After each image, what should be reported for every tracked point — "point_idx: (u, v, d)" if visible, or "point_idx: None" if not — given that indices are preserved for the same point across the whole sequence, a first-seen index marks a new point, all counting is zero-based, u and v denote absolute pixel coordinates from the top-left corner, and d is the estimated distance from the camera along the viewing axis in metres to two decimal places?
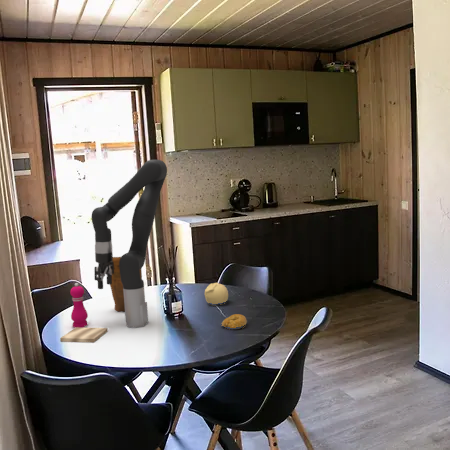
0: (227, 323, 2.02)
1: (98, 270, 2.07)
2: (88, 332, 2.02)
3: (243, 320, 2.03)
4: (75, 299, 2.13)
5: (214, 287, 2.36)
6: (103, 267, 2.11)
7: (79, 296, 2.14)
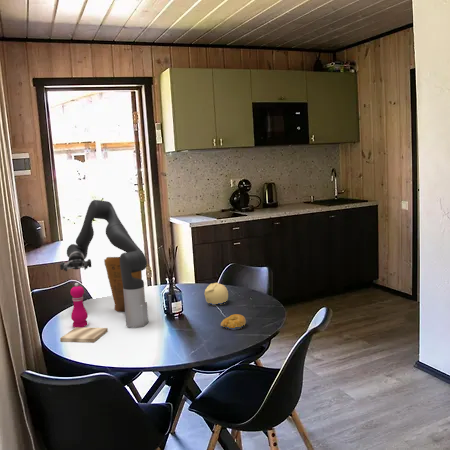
0: (226, 323, 2.02)
1: (61, 263, 2.29)
2: (88, 332, 2.02)
3: (242, 321, 2.03)
4: (75, 299, 2.13)
5: (214, 287, 2.36)
6: None
7: (79, 296, 2.14)
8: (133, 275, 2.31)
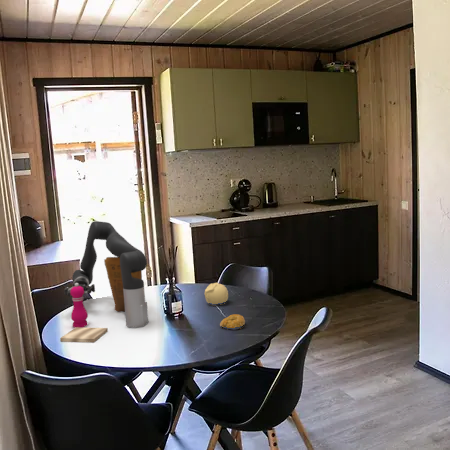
0: (225, 323, 2.02)
1: (65, 288, 2.33)
2: (88, 332, 2.02)
3: (241, 321, 2.03)
4: (75, 299, 2.13)
5: (214, 287, 2.36)
6: None
7: (79, 296, 2.14)
8: (133, 275, 2.31)
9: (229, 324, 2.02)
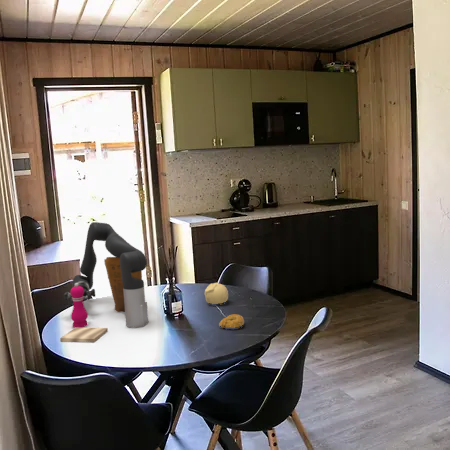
0: (225, 323, 2.02)
1: (65, 293, 2.30)
2: (88, 332, 2.02)
3: (240, 321, 2.03)
4: (75, 299, 2.13)
5: (214, 287, 2.36)
6: None
7: (79, 296, 2.14)
8: (133, 275, 2.31)
9: (228, 324, 2.02)
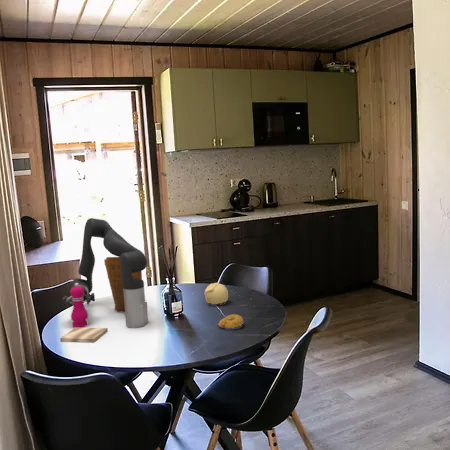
0: (224, 323, 2.02)
1: None
2: (88, 332, 2.02)
3: (240, 321, 2.03)
4: (75, 299, 2.13)
5: (214, 287, 2.36)
6: None
7: (79, 296, 2.14)
8: (133, 275, 2.31)
9: (227, 324, 2.02)
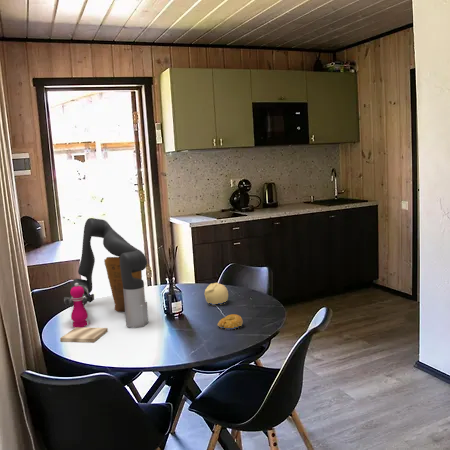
0: (223, 323, 2.02)
1: (64, 298, 2.20)
2: (88, 332, 2.02)
3: (239, 321, 2.03)
4: (75, 299, 2.13)
5: (214, 287, 2.36)
6: None
7: (79, 296, 2.14)
8: (133, 275, 2.31)
9: (227, 324, 2.02)
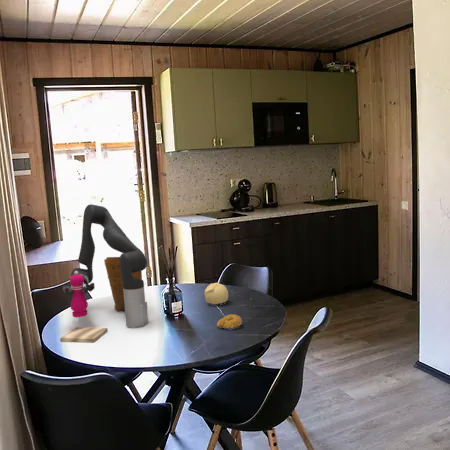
0: (222, 323, 2.02)
1: (63, 287, 2.13)
2: (88, 332, 2.02)
3: (238, 321, 2.03)
4: (75, 288, 2.06)
5: (214, 287, 2.36)
6: (71, 285, 2.15)
7: (79, 285, 2.07)
8: (133, 275, 2.31)
9: (226, 324, 2.02)
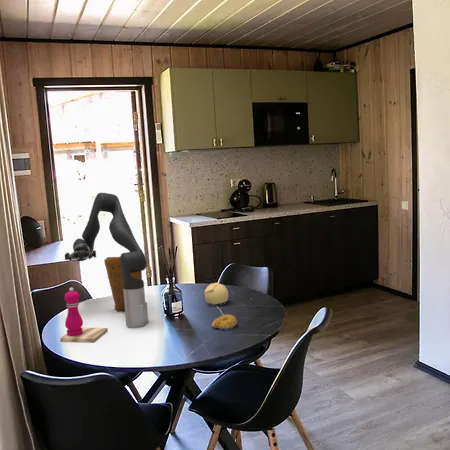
0: (217, 323, 2.02)
1: (66, 254, 2.28)
2: (88, 332, 2.02)
3: (233, 321, 2.04)
4: (70, 305, 1.99)
5: (214, 287, 2.36)
6: None
7: (74, 302, 1.99)
8: (133, 275, 2.31)
9: (221, 324, 2.02)
